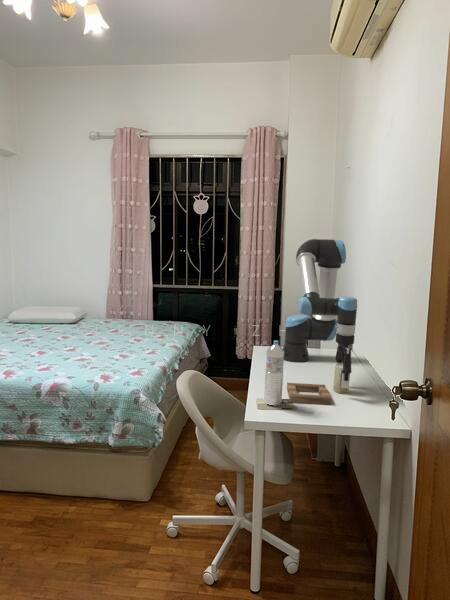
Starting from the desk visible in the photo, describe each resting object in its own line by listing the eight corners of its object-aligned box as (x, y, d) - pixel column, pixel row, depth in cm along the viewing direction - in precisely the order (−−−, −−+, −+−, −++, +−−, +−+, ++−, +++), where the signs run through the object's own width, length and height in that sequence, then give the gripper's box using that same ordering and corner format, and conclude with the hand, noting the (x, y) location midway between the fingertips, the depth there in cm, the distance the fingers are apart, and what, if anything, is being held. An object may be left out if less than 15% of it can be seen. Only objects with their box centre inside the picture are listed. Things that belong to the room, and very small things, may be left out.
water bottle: (263, 399, 171) (266, 338, 168) (280, 400, 171) (284, 339, 168) (264, 406, 165) (267, 342, 161) (282, 407, 164) (286, 343, 161)
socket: (286, 388, 185) (287, 382, 185) (324, 390, 184) (324, 384, 184) (290, 402, 169) (290, 396, 169) (331, 404, 169) (331, 398, 168)
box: (339, 393, 181) (341, 368, 179) (332, 390, 185) (334, 365, 183) (348, 392, 183) (351, 367, 181) (342, 388, 187) (344, 364, 185)
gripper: (330, 327, 193) (327, 372, 196) (342, 340, 168) (338, 392, 171) (347, 328, 192) (344, 373, 195) (362, 341, 168) (357, 393, 171)
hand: (341, 382), depth 183 cm, fingers open, 13 cm apart
